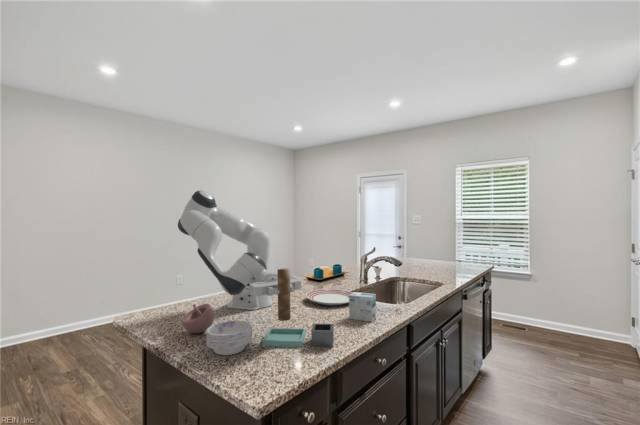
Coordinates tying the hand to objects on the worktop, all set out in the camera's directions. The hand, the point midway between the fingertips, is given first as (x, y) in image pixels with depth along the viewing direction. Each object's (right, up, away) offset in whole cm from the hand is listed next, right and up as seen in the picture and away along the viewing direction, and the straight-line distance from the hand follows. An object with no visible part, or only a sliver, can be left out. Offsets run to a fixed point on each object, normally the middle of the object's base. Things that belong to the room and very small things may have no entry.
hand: (285, 290), depth 115 cm
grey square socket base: (+14, -19, -2) cm, 23 cm away
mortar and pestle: (-35, -19, +10) cm, 42 cm away
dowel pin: (0, -10, +1) cm, 10 cm away
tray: (0, -19, +1) cm, 19 cm away
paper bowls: (-19, -19, -6) cm, 27 cm away
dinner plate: (+19, -19, +53) cm, 60 cm away
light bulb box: (+32, -19, +25) cm, 44 cm away
